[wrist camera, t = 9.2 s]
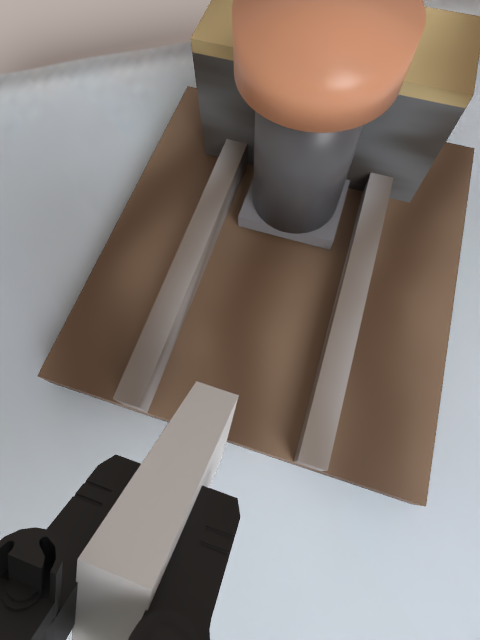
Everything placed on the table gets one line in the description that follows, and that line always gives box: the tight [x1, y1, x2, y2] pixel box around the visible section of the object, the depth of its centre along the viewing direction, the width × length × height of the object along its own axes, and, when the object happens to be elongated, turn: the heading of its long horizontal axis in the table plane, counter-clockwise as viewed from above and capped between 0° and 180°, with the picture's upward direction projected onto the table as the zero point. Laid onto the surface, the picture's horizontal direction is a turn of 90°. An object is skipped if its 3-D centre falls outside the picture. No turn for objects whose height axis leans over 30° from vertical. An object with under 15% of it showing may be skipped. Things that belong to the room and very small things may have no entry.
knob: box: [232, 0, 426, 250], centre depth 17 cm, size 6×6×10 cm
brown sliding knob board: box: [38, 0, 480, 506], centre depth 18 cm, size 18×20×8 cm
